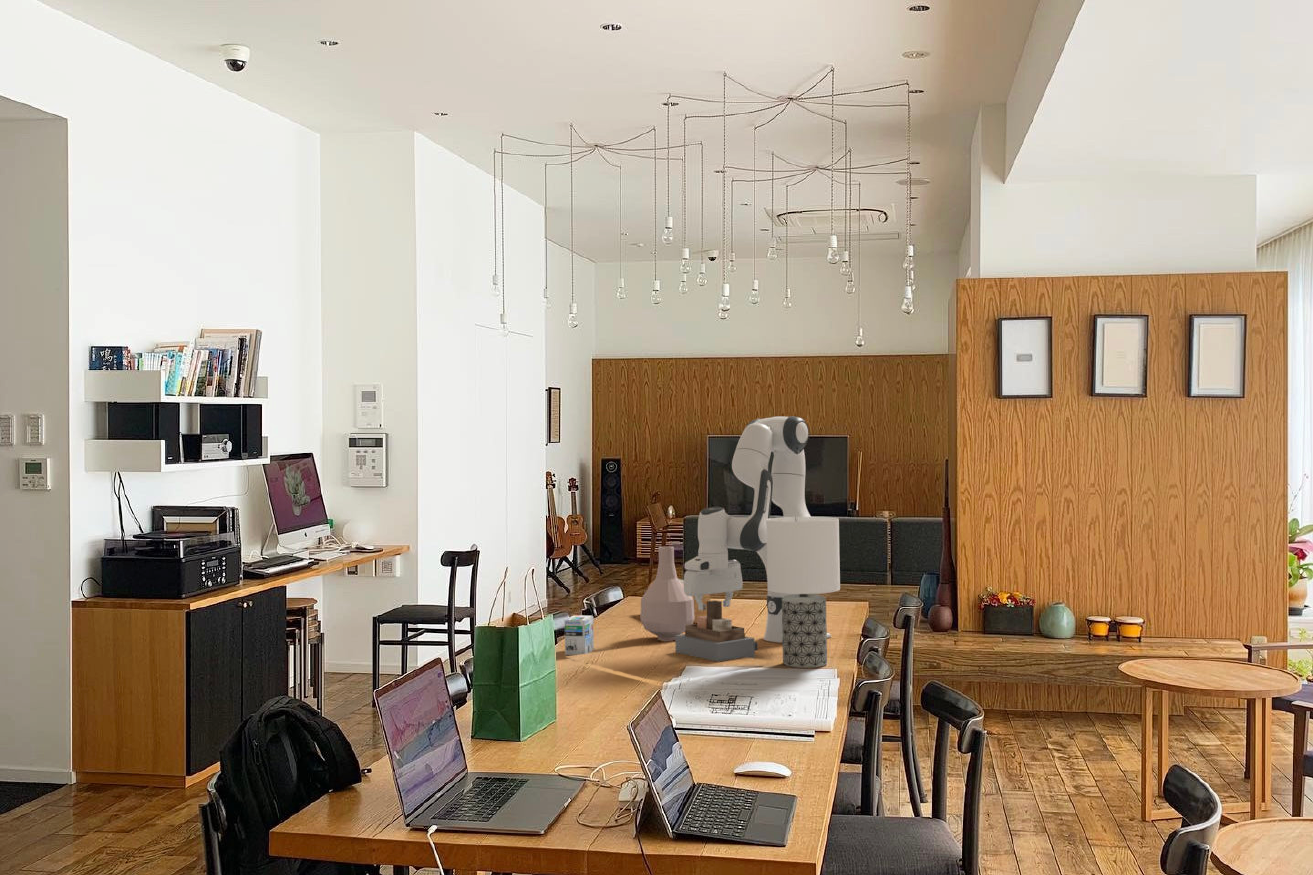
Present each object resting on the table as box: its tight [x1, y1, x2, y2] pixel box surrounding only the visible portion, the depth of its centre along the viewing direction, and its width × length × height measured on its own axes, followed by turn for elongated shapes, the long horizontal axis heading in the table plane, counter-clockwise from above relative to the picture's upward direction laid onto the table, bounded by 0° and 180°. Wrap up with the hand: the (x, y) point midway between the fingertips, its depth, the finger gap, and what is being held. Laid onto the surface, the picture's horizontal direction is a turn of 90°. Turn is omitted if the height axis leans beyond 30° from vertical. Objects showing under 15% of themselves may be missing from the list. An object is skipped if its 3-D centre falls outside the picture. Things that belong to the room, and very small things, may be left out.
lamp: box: [766, 516, 841, 669], centre depth 336 cm, size 21×21×42 cm
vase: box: [639, 546, 695, 642], centre depth 382 cm, size 18×18×30 cm
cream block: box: [712, 617, 733, 631], centre depth 347 cm, size 4×4×4 cm
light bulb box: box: [564, 614, 595, 656], centre depth 362 cm, size 11×7×11 cm, turn 169°
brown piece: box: [684, 600, 746, 642], centre depth 350 cm, size 10×16×10 cm, turn 36°
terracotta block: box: [697, 616, 707, 629], centre depth 353 cm, size 4×4×4 cm
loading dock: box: [675, 633, 759, 663], centre depth 350 cm, size 15×20×6 cm
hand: (714, 608), depth 350 cm, fingers open, 8 cm apart
